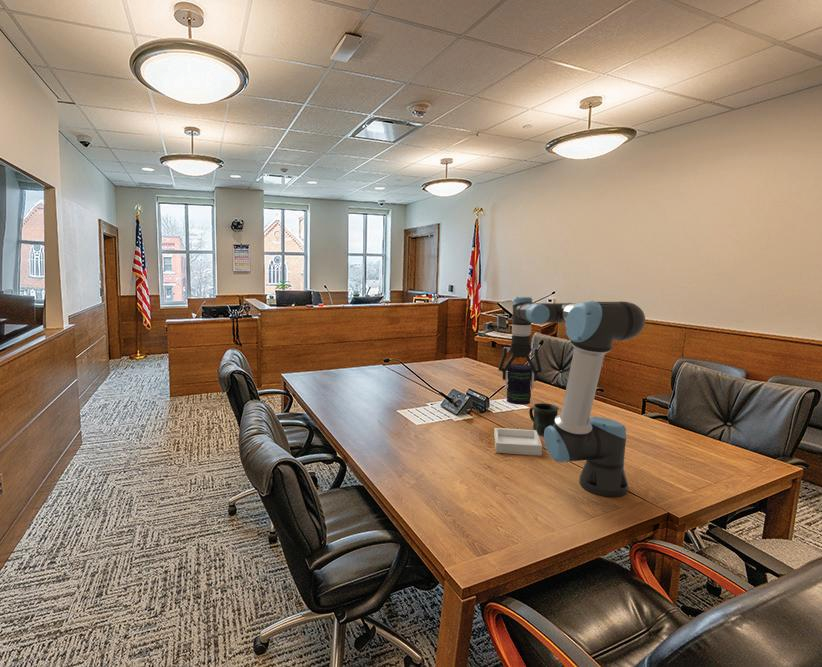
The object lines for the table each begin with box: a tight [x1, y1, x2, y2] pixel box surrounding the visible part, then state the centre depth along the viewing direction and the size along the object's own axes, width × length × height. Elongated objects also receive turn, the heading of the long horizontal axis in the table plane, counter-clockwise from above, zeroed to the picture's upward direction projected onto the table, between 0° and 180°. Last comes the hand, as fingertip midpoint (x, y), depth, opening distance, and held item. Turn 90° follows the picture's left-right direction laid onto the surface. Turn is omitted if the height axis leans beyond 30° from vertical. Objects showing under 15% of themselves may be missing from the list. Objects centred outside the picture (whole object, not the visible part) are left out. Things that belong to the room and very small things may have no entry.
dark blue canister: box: [506, 363, 533, 406], centre depth 180 cm, size 10×10×15 cm
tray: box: [493, 427, 543, 456], centre depth 183 cm, size 18×18×4 cm
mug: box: [528, 402, 560, 436], centre depth 200 cm, size 11×15×12 cm
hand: (519, 388), depth 180 cm, fingers closed on dark blue canister, 10 cm apart
